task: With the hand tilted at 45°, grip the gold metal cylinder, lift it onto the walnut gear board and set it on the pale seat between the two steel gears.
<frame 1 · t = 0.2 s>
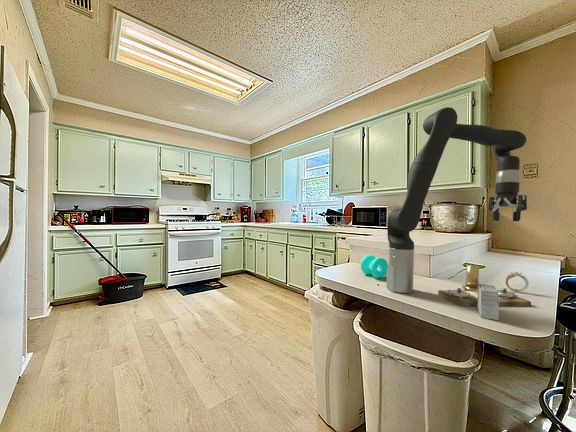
hand: (505, 221, 103), 29 cm above the table, tool pointing down, fingers open, 8 cm apart
bracelet: (516, 292, 101), on the table
steel gears: (481, 292, 92), point 2 cm above the table
gear board: (481, 299, 92), on the table
donuts: (373, 276, 123), on the table
medicine box: (487, 315, 78), on the table
gold metal cylinder: (471, 290, 103), on the table
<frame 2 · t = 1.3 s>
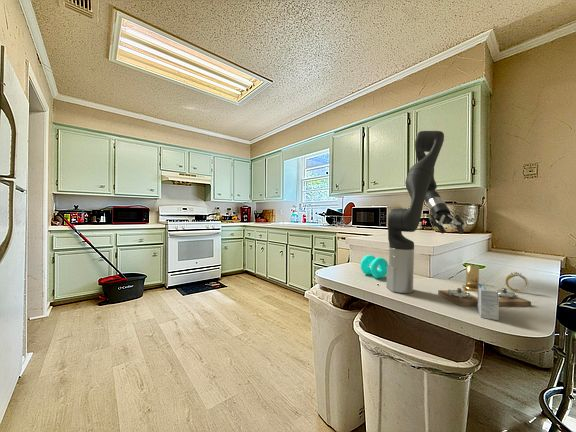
hand: (452, 232, 115), 23 cm above the table, tool tilted 45°, fingers open, 8 cm apart
nothing on the table moved.
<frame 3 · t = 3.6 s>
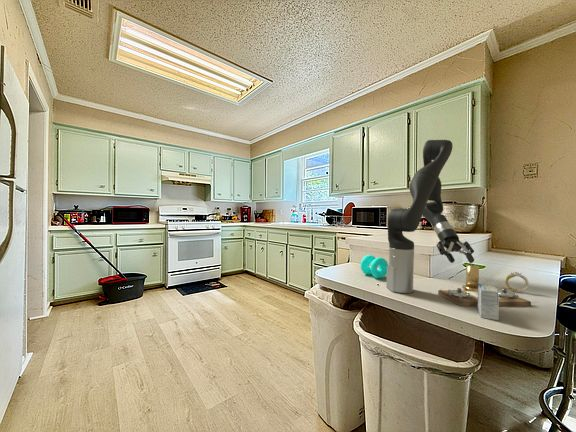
hand: (462, 262, 108), 10 cm above the table, tool tilted 45°, fingers open, 8 cm apart
nothing on the table moved.
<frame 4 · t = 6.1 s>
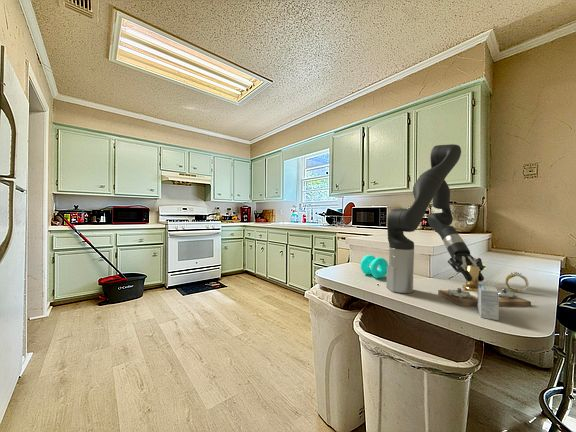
hand: (476, 280, 101), 5 cm above the table, tool tilted 45°, fingers closed on gold metal cylinder, 4 cm apart
gold metal cylinder: (471, 290, 103), on the table, touching gripper
everything else where it was.
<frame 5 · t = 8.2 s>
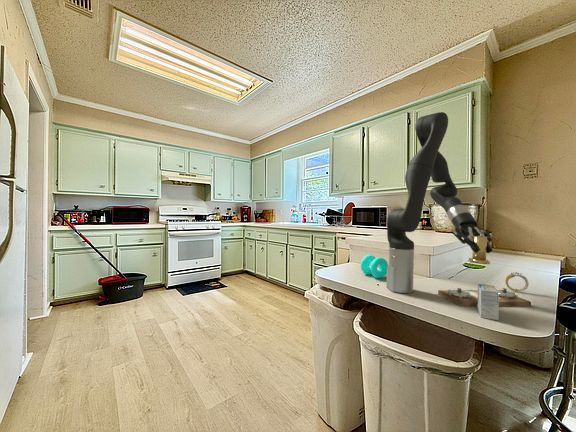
hand: (483, 251, 92), 18 cm above the table, tool tilted 45°, fingers closed on gold metal cylinder, 4 cm apart
gold metal cylinder: (478, 262, 94), point 13 cm above the table, touching gripper
everything else where it was.
when the fingers open (8 cm above the table, at t = 10.8 s): gold metal cylinder drops 1 cm, resting on gear board.
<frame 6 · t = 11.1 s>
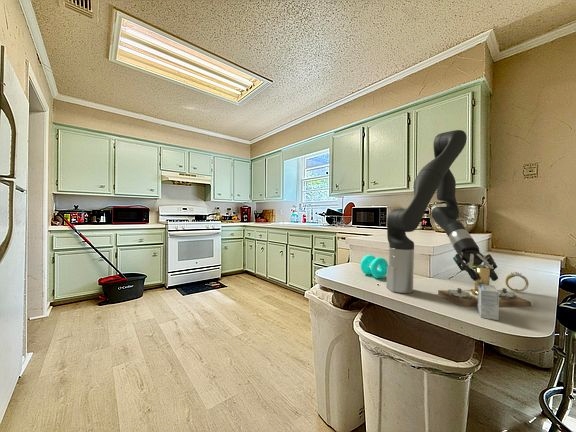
hand: (486, 279, 90), 8 cm above the table, tool tilted 45°, fingers open, 6 cm apart
gold metal cylinder: (481, 294, 92), point 2 cm above the table, touching gear board
everything else where it was.
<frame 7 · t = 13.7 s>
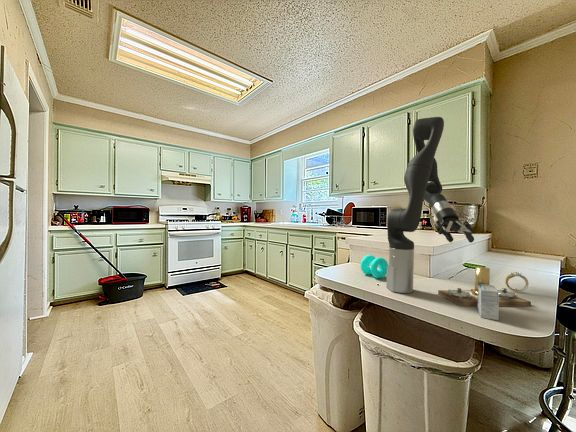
hand: (462, 241, 102), 20 cm above the table, tool tilted 45°, fingers open, 8 cm apart
nothing on the table moved.
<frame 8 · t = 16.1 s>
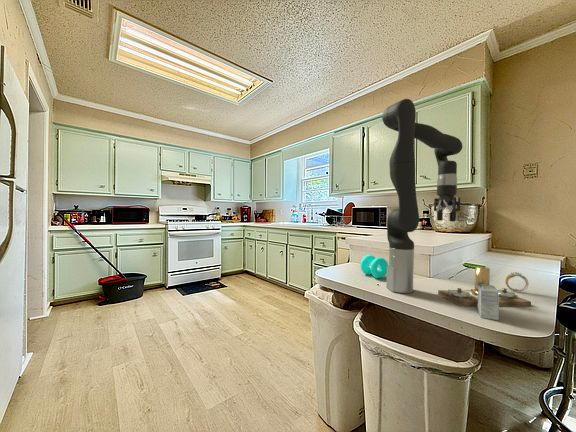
hand: (445, 220, 112), 28 cm above the table, tool pointing down, fingers open, 8 cm apart
nothing on the table moved.
at the end: gold metal cylinder 0.1 cm off-centre on the gear board, point 1.8 cm above the gear board's base; gold metal cylinder tilted 0°; the gripper is holding nothing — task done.
